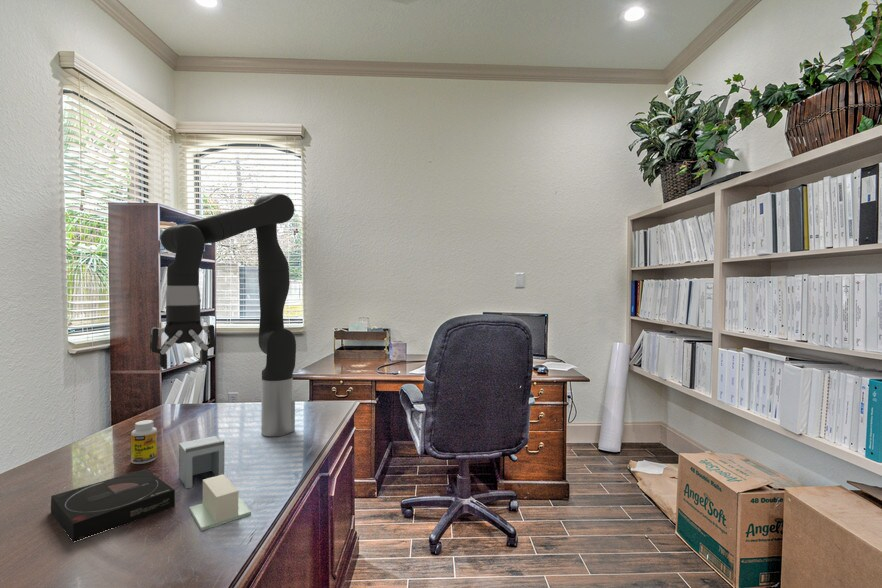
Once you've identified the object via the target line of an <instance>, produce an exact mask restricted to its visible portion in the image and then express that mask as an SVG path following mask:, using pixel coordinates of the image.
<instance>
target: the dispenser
mask: <svg viewBox="0 0 882 588" xmlns="http://www.w3.org/2000/svg"><path fill="white" fill-rule="evenodd" d="M178 446H179V447H178V454H179V455H178V458H179V459H178V460H179V461H178V462H179V463H178V478H179V479H180V481H181V482H182V484H183V486H184V488H185V489H189V488H193V476H196V475H200V474H204V473H207V472H212V473H213V475H214V477H215V476H218V475H222V474H224V475H225V453H226V450H225V447H226V446H225V440H224V439H223V440H220V439H219V438H218V436H217V435H212V436H209V437H204V438H197V439H194V440H189V441H188V440H187V441H183V442H179V443H178Z"/></svg>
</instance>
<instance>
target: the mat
mask: <svg viewBox="0 0 882 588" xmlns="http://www.w3.org/2000/svg"><path fill="white" fill-rule="evenodd" d="M189 511H190V513H191V515H192V517H193V518H194V521H195V522H196V524H197V525H198V527H199V529H200V531H201V532H202V531H205V530H208V529H211V528H213V527H218V526H220V525H223V524H227V523H230V522H233V521H235V520H238V519H241V518H244V517H247V516H248V517H249V516H250V515H252V511H251V509H250V508H249V507H248V506H247V505H246V503H245V502H244V501H243V500H242V499H241V498H240V496H239V495H238V516H236V517H233V518H230V519H227V520H224V521H221V522H218V523H216V522H215V520H214V519H213V517H212V516H211V514H210V513H209V512H208V510H207V509H206V507H205V506H204V505H203V502H202V503H200V504H196V505H195V504H194V505H192V506H189Z"/></svg>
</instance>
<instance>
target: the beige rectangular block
mask: <svg viewBox="0 0 882 588" xmlns="http://www.w3.org/2000/svg"><path fill="white" fill-rule="evenodd" d="M239 492H240V491H239V489H237V487H236V486H235V485H234V484H233V483H232V482H231V481H230V480H229V478H228V477H227V476H226V475H225V473H224V474H222V475H218V476H215V475H214V476H212V477H207V478H205V479H202V503H203V505H204V506H205V507H206V509H207V510H208V512H209V513H210V514H211V516H212V517H213V519H214V520H215V522H216V523H218V522H221V521H224V520H227V519H230V518H233V517H236V516H238V496H239Z"/></svg>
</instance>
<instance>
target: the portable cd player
mask: <svg viewBox="0 0 882 588" xmlns="http://www.w3.org/2000/svg"><path fill="white" fill-rule="evenodd" d="M175 493H176V489H175V488H173V487H172V486H170V485H169V484H168V483H166V482H165V481H163V480H162V479H161V478H159V477H158V476H156V475H155V474H153V472H151V471H149V470H148V469H147V468H144V469H140V470H136V471H134V472H129V473H127V474H122V475H120V476H119V475H118V476H116V477H113V478H109V479H105V480H102V481H98V482H95V483H91V484H88V485H85V486H81V487H78V488H73V489H70V490H68V491H64V492H61V493H57V494H54V495H51V498H50V513H51V515H52V516H53V518H54V519H55V521H57V523H58V522H59V523H58V524H59V525H61V526H62V527H61V526H60V527H61V528H62V530H63V529H64V530H65V531H66V532H65V531H64V530H63V531H64V532H65V534H66V533H67V534H68V535H69V537H70V538H71V539H72V541H73V542H74V541H77V540H80V539H83V538H85V537H88V536H91V535H94V534H97V533H100V532H103V531H105V530H108V529H111V528H114V529H116V528H115V527H117V528H119V527H118V526H120V527H122V526H124V524H125V525H128V524H131V523H132V522H133V521H134V522H136V521H139V520H141V519H144V518H147V517H150V516H153V515H155V514H158V513H161V512H163V511H167V510H169V508H170V509H172V508H175V507H176V505H175V504H176V501H175V500H176V494H175ZM171 507H172V508H171ZM135 520H136V521H135ZM130 522H131V523H130ZM127 523H128V524H127ZM121 525H122V526H121ZM111 530H112V529H111ZM103 533H104V532H103ZM67 534H66V535H67ZM100 534H101V533H100ZM68 535H67V536H68ZM69 537H68V538H69ZM70 538H69V539H70ZM71 539H70V540H71ZM72 541H71V542H72ZM73 542H72V543H73Z"/></svg>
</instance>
